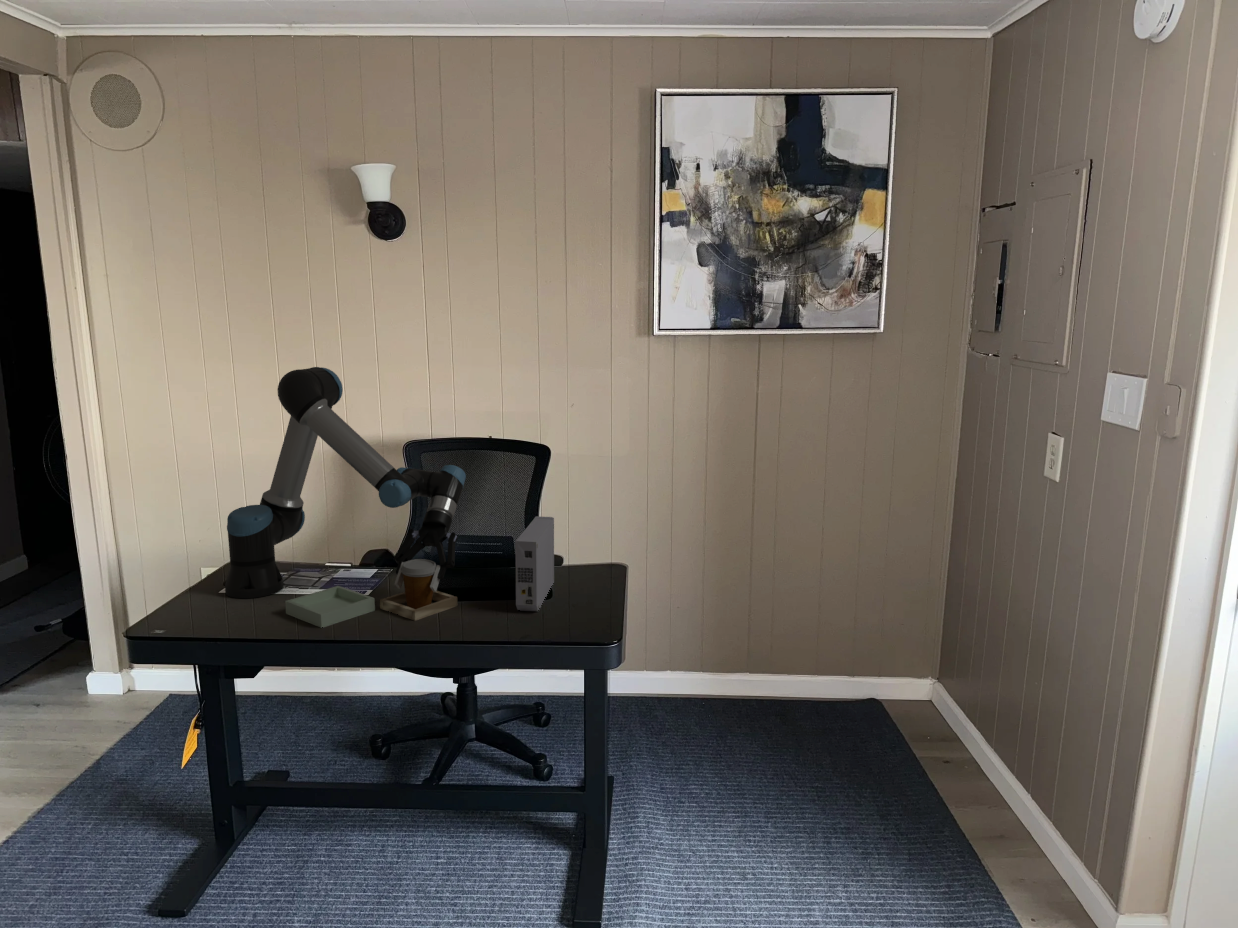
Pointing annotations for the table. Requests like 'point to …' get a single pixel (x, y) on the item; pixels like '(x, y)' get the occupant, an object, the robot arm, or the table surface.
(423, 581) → the disposable coffee cup
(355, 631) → the table surface
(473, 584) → the table surface
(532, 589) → the game console
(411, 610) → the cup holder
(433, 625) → the table surface
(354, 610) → the tray
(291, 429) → the robot arm
